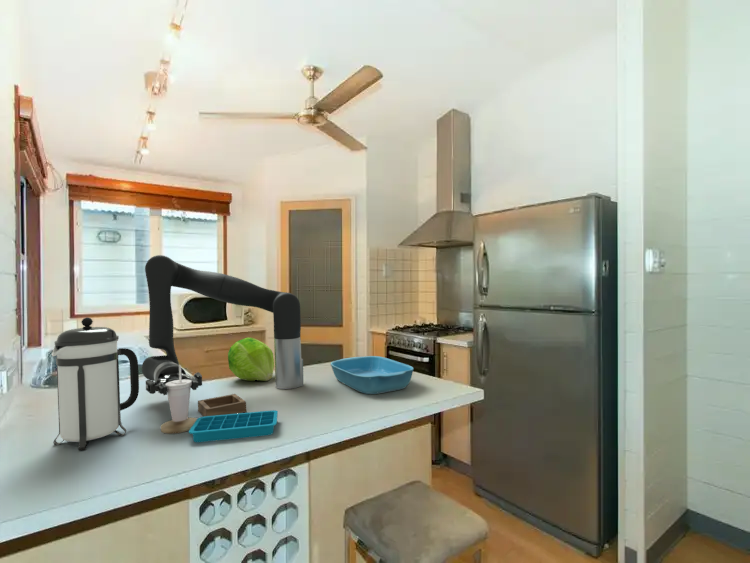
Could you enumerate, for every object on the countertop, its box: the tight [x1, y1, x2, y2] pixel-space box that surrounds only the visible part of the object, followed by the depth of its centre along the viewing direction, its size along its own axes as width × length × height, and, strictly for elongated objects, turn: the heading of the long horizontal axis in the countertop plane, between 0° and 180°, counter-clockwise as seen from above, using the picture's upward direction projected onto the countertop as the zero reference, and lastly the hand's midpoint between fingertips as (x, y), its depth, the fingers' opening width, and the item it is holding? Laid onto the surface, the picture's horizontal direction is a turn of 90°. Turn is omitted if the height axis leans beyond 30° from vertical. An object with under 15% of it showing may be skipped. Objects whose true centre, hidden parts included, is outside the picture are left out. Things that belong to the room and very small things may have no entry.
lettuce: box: [227, 337, 275, 382], centre depth 156 cm, size 17×20×16 cm
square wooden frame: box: [197, 393, 248, 417], centre depth 119 cm, size 11×11×3 cm
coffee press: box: [51, 317, 140, 452], centre depth 101 cm, size 17×16×30 cm
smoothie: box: [165, 365, 192, 422], centre depth 107 cm, size 6×6×14 cm
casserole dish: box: [330, 355, 414, 395], centre depth 146 cm, size 37×22×7 cm, turn 28°
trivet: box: [160, 416, 198, 435], centre depth 107 cm, size 9×9×1 cm
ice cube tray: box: [188, 409, 278, 443], centre depth 103 cm, size 12×20×3 cm, turn 102°
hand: (180, 388), depth 105 cm, fingers closed on smoothie, 6 cm apart
